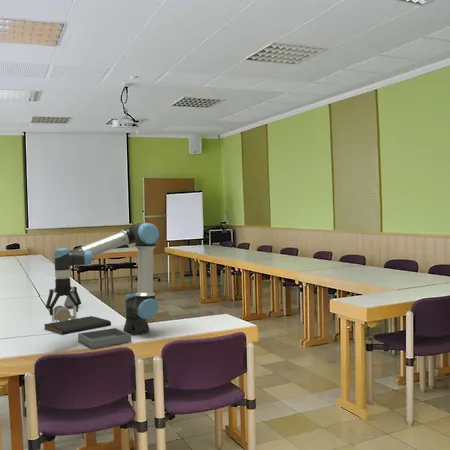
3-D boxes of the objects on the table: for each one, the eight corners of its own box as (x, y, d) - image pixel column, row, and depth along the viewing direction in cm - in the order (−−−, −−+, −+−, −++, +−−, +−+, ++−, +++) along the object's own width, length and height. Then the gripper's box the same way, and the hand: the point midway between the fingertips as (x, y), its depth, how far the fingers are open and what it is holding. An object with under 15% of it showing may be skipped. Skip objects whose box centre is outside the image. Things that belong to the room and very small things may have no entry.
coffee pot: (75, 306, 407) (74, 286, 407) (82, 307, 398) (81, 288, 398) (49, 309, 393) (48, 290, 393) (55, 311, 384) (54, 291, 384)
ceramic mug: (57, 323, 266) (57, 308, 265) (51, 320, 272) (51, 306, 272) (77, 320, 272) (77, 305, 272) (71, 318, 279) (71, 304, 278)
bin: (115, 335, 301) (115, 327, 301) (131, 342, 283) (131, 334, 282) (78, 341, 289) (78, 333, 288) (92, 349, 270) (91, 340, 270)
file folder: (91, 315, 346) (111, 320, 329) (91, 321, 346) (111, 327, 329) (43, 323, 323) (62, 329, 306) (44, 330, 323) (62, 336, 306)
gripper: (82, 275, 281) (83, 315, 282) (38, 279, 268) (39, 321, 269) (86, 276, 275) (88, 317, 276) (41, 280, 262) (43, 324, 263)
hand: (64, 319), depth 272 cm, fingers closed on ceramic mug, 11 cm apart
